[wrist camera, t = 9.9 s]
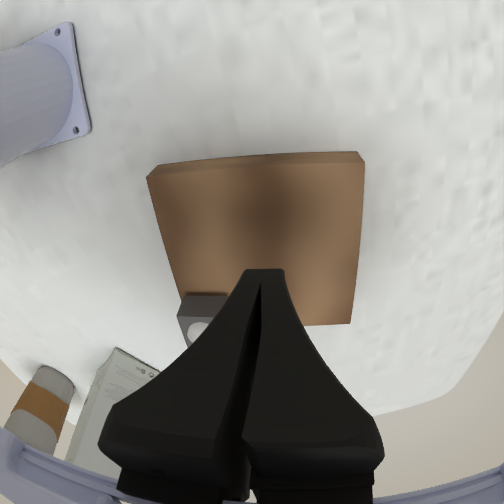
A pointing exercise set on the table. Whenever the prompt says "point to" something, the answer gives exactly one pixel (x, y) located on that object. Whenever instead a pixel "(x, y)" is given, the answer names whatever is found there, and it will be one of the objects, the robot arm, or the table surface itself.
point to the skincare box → (105, 410)
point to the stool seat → (265, 225)
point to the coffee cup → (42, 410)
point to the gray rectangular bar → (197, 314)
